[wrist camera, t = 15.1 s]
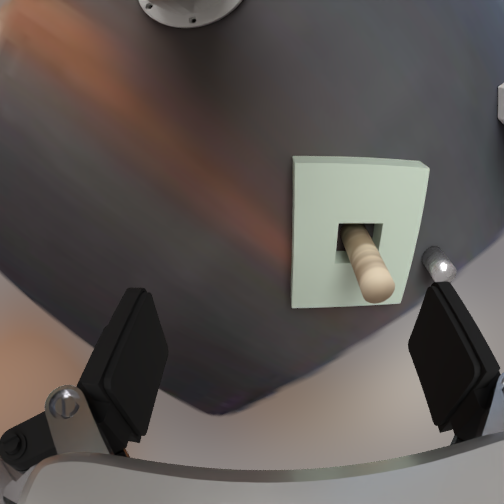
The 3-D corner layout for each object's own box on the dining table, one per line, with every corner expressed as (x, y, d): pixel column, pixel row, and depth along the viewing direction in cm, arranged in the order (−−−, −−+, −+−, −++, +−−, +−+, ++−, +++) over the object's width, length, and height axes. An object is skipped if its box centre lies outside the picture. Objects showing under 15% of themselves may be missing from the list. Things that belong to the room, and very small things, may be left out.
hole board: (292, 156, 35) (294, 163, 33) (419, 160, 34) (429, 168, 32) (290, 294, 46) (291, 308, 43) (394, 290, 45) (400, 303, 42)
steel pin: (424, 245, 40) (438, 265, 36) (444, 245, 40) (459, 264, 36) (419, 266, 42) (432, 287, 38) (438, 265, 42) (452, 285, 38)
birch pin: (341, 220, 39) (365, 276, 29) (367, 220, 39) (398, 275, 29) (338, 244, 41) (359, 304, 31) (363, 243, 41) (391, 302, 31)
